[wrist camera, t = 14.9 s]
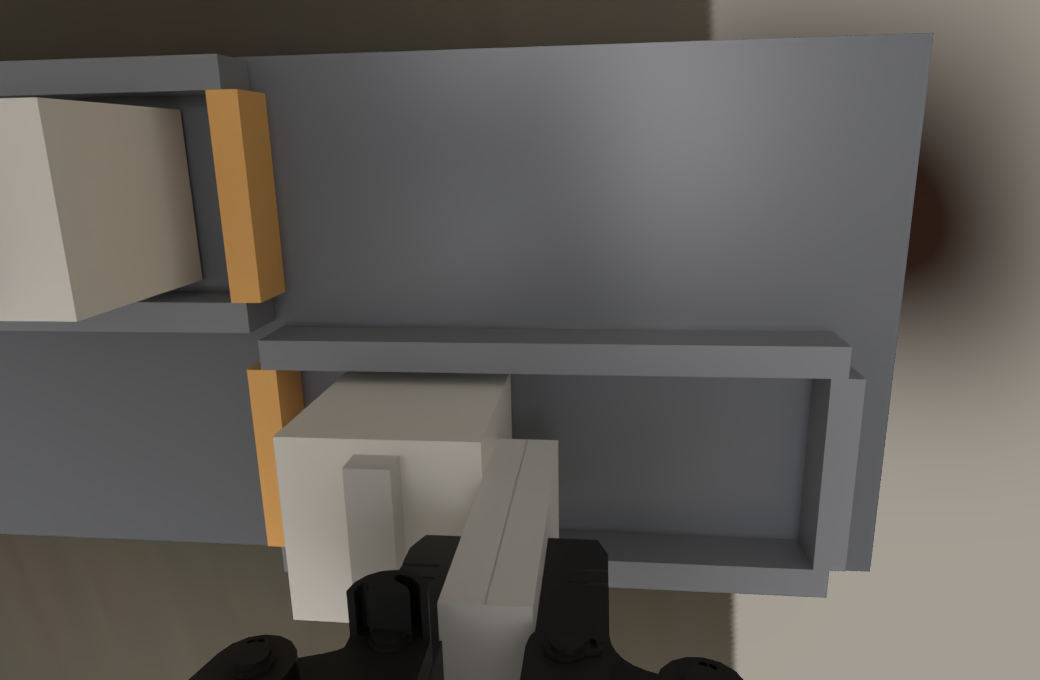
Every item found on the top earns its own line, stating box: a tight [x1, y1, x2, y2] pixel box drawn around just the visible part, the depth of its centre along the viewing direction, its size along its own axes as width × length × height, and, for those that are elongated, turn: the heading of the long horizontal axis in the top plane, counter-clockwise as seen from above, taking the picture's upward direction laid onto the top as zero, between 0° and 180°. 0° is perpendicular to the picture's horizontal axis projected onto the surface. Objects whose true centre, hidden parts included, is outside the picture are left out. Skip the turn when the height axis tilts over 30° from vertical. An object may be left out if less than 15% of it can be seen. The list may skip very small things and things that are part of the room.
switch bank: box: [0, 33, 933, 598], centre depth 21 cm, size 14×33×4 cm, turn 91°
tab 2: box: [273, 371, 512, 623], centre depth 18 cm, size 4×4×6 cm
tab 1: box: [0, 97, 203, 322], centre depth 17 cm, size 4×4×6 cm
